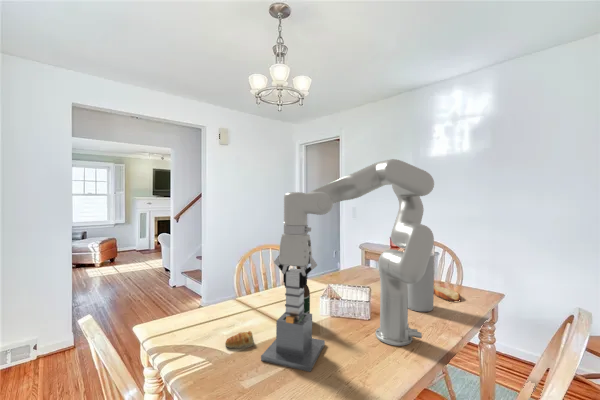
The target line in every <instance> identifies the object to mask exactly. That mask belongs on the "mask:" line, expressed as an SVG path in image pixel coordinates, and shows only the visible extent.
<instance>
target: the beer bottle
mask: <svg viewBox="0 0 600 400" xmlns="http://www.w3.org/2000/svg"><path fill="white" fill-rule="evenodd" d="M296 269H301V268H300V266H296ZM304 291H305V293H304V301H305V303H304V313H309V314H311V313H310V312H311V307H310V306H311V291H310V288H309V286H308V284H307V285H306V286H305V287H304Z"/></svg>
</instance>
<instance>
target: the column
mask: <svg viewBox="0 0 600 400" xmlns="http://www.w3.org/2000/svg"><path fill="white" fill-rule="evenodd" d="M301 276H302V272H301V269H297V268H289V270H288V271H286V286H284V288H285V292H284V296H285V303H284V307H285V312H284V313H285V314H286V317H287V316H292V317H295V322H301V321H302V320H303V319H304V303H305V301H304V293H305V291H304V288H303V289H302V288H301ZM285 320H286V319H285Z"/></svg>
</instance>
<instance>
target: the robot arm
mask: <svg viewBox="0 0 600 400" xmlns="http://www.w3.org/2000/svg"><path fill="white" fill-rule="evenodd" d="M384 186H391V188H392V190H393V192H394V194H395V196H396V197H397V199H398V200H397V201H398V206H399V207H398V212H397V214H396V219H395V220H394V221H395V222H394V223H393V226H392V227H393V228H392V229H391V234H390V241H391V242H392V244H394V246H397V247H398V248H402V249H404V251H401V250H398V249H392V248H391V249H385V250H384V251H383V252H382V253H380V255H379V257H378V262H377V265H378V267H377V268H378V273H379V279H380V280H379V281H380V283H379V284H380V294H379V295H380V296H379V297H380V299H379V300H380V306H379V307H380V308H379V309H380V310H379V327H378V328H376V330H375V337H376V338H377V340H379V341H381V342H382V343H385V344H388V345H391V346H397V347H398V346H399V347H402V346H407V345H409V344H412V342H413V337H414V338H417V339H422V337H423V336H422V335H423V334H422V332H421V331H418V329H417V328H411V327H409V325H410V324H409V321H408V319H409V317H408V316H409V308H408V285H407V284H416V283H418V282H419V281H420V280H421V279H422V277H423V275H424V273H425V271H426V268H427V265H428V261H429V258H430V255H431V253H432V251H433V249H434V243H435V238H434V233H433V231H432V230H431V228H430V227H429V226H427V225H425V224H423V223H422V220H423V215H424V210H425V209H424V204H423V201H422V199H421V197H424V196H428V195H429V194H431V192H433V190H434V188H435V181H434V177H433V176H432V175H431V174H430V173H429V172H428V171H426V170H424V169H422V168H419V167H418V166H416V165H415V166H414V165H412V164H410V163H408V162H405V161H404V160H400V159H395V158H389V159H386V160H380V161H377V162H374V163H372V164H370V165H367V166H365V167H363V168H361V169H359V170H357V171H354V172H353V173H350V174H348V175H345V176H343V177H341V178H339V179H336V180H334V181H331V182H329V183H326V184H324V185H322V186H319V187H318V188H315V189H313V190H310V191H309V192H298V191H297V192H296V191H294V192H286V193H285V194H284V196H283V233H282V234H281V237H280V238H281V239H280V243H279V250H278V251H279V252H278V256H277V257H276V258H275V260H273V263H274V264H275V265H276V266H277V267H278V268H279V270H280V271H281V273H282V275H283V277H282V278H283V280H282V281H283V284H284V286H283V287H285V286H286V271H288V270H290V266H291V267H292V266H293V267H297V266H300V268H301V272H302V276H301V288H302V289H303V288H304V287H305V286H306V285H307V286H308V274H309V273H310V272H311V271H312V270H314V269H315V268H316V267H317V266H318V263H317V262H316V261H315V259H314V258H313V249H312V242H311V237H310V234H308V233H309V232H312V227H309V226H308V215H310V214H311V215H317V216H318V215H319V216H323V215H327V214H328V213H329V212H330V211H331V210H332V208H333V207H334V206H333V205H334V204H336V203H339V202H343V201H350V200H355V199H358V198H361V197H363V196H365V195H367V194H369V193H371V192H373V191H375V190H377V189H379V188H382V187H384ZM309 265H310V266H309ZM308 266H309V267H308Z"/></svg>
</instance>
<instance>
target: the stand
mask: <svg viewBox="0 0 600 400" xmlns="http://www.w3.org/2000/svg"><path fill="white" fill-rule="evenodd" d="M285 319H286V320H285ZM275 324H276V328H275V329H276V330H275V331H276V335H275V336H276V338H275V339H274V340H273V342H272V343H271V344H270V345H269V347H268V348H267V349H265V351H264V352H263V353H262V354H261V355H260V360H261V361H262V362H266V363H269V364H274V365H279V366H282V367H283V366H284V367H286V368H292V369H295V370H299V371H304V372H309V373H311V372H312V370H313V368H314V367H315V364H316V362H317V360H318V359H319V356H320V354H322V351H323V349H324V348H325V345H326V341H325V340H324V339H318V338H315V337H313V313H310V314H309V313H304V319H303V320H302V321H301V322H295V317H292V316H287V317H286V314H285V312H284V313H283V314H282V315H281V316H280V317H279V318H278V319H277V320H276V323H275Z"/></svg>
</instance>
